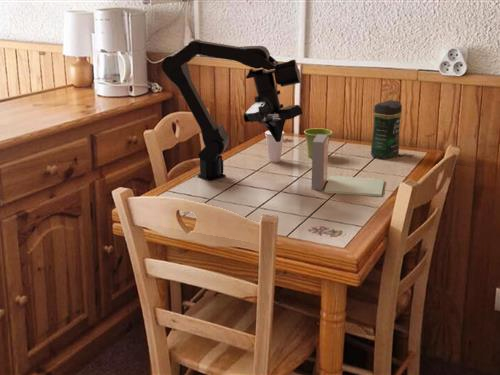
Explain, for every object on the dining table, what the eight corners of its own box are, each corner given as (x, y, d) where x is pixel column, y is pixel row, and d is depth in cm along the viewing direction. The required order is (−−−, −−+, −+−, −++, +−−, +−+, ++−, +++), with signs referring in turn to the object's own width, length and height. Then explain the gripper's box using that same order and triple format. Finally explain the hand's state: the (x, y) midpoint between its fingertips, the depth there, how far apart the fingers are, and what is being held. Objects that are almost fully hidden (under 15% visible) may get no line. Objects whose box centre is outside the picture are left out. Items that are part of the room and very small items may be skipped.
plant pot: (336, 155, 229) (337, 130, 227) (324, 162, 222) (325, 136, 219) (311, 151, 234) (311, 127, 231) (298, 158, 226) (299, 133, 223)
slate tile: (311, 188, 196) (312, 141, 192) (316, 179, 205) (317, 134, 200) (323, 189, 196) (324, 142, 191) (327, 180, 204) (328, 134, 199)
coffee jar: (388, 161, 223) (392, 105, 217) (367, 156, 227) (370, 102, 221) (402, 154, 230) (406, 100, 224) (381, 150, 235) (384, 97, 229)
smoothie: (276, 164, 219) (277, 122, 215) (260, 161, 223) (260, 119, 218) (288, 160, 224) (288, 118, 220) (272, 157, 228) (272, 116, 223)
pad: (324, 192, 193) (324, 190, 193) (330, 177, 206) (330, 175, 206) (381, 196, 190) (381, 194, 189) (384, 181, 202) (384, 179, 202)
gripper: (225, 99, 197) (237, 150, 202) (271, 95, 184) (284, 150, 188) (250, 89, 205) (262, 139, 209) (297, 84, 191) (309, 137, 196)
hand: (278, 141), depth 200 cm, fingers closed
